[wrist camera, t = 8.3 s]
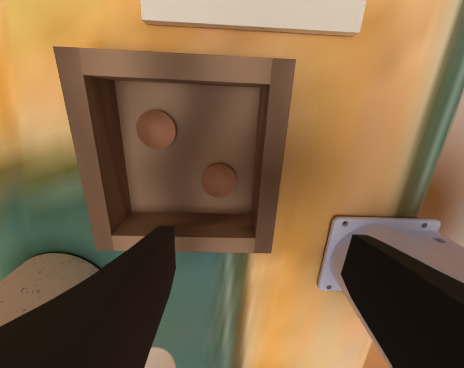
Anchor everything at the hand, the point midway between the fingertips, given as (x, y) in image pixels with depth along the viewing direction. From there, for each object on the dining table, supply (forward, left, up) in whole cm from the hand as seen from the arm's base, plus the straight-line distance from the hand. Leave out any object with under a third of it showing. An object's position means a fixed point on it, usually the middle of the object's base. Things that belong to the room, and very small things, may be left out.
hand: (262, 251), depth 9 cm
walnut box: (+4, -2, -9) cm, 10 cm away
